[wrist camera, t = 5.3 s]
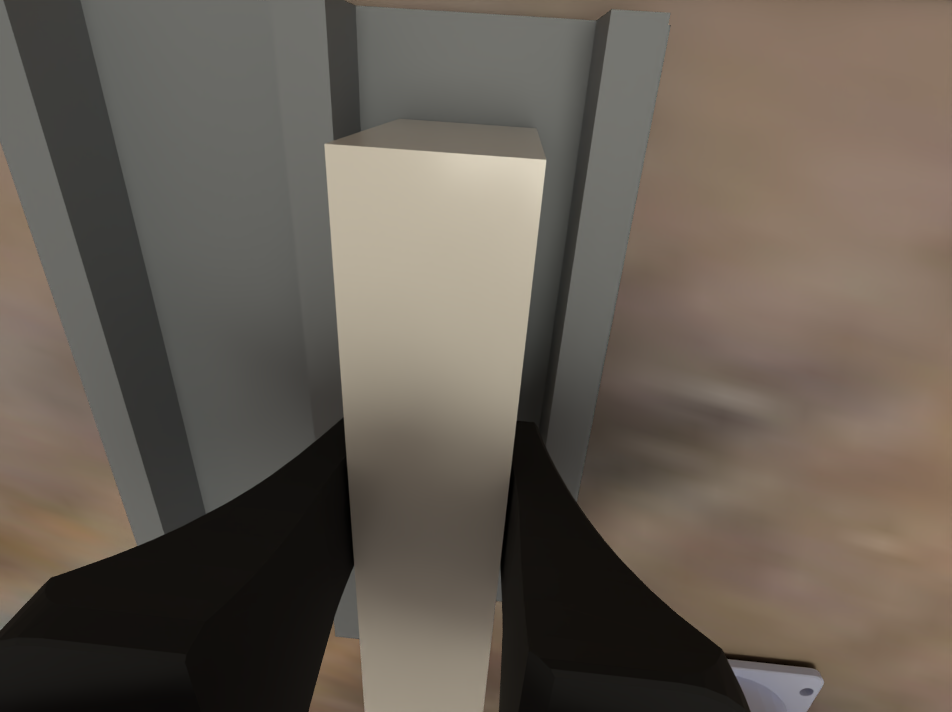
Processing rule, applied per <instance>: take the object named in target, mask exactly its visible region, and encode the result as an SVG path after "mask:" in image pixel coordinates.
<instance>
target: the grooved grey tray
mask: <svg viewBox="0 0 952 712" xmlns="http://www.w3.org/2000/svg"><path fill="white" fill-rule="evenodd" d="M669 18H670V13H663V12H647V11H630V10H614V9H611V10H610V11H609V12H607V13H606V14H605V15H603V16H602V17H601V18H599V19H598V20H597V21H595V20H579V19H562V18H546V17H530V16H514V15H498V14H482V13H466V12H450V11H433V10H417V9H401V8H385V7H369V6H355V5H353V4H351V3H348V2H346V1H344V0H0V142H1V145H2V148H3V151H4V154H5V157H6V160H7V163H8V166H9V169H10V172H11V175H12V178H13V181H14V184H15V187H16V190H17V193H18V195H19V198H20V201H21V204H22V207H23V210H24V213H25V216H26V219H27V222H28V225H29V228H30V231H31V234H32V237H33V240H34V243H35V246H36V248H37V251H38V254H39V257H40V260H41V263H42V266H43V269H44V272H45V275H46V278H47V281H48V284H49V287H50V290H51V293H52V296H53V299H54V302H55V304H56V307H57V310H58V313H59V316H60V319H61V322H62V325H63V328H64V331H65V334H66V337H67V340H68V343H69V346H70V349H71V352H72V355H73V357H74V360H75V363H76V366H77V369H78V372H79V375H80V378H81V381H82V384H83V387H84V390H85V393H86V396H87V399H88V402H89V405H90V408H91V411H92V413H93V416H94V419H95V422H96V425H97V428H98V431H99V434H100V437H101V440H102V443H103V446H104V449H105V452H106V455H107V458H108V461H109V464H110V466H111V469H112V472H113V475H114V478H115V481H116V484H117V487H118V490H119V493H120V496H121V499H122V502H123V505H124V508H125V511H126V514H127V517H128V520H129V522H130V525H131V528H132V531H133V534H134V537H135V540H136V543H137V546H139V545H141V544H144V543H146V542H148V541H151V540H153V539H155V538H158V537H160V536H162V535H164V534H167V533H169V532H171V531H173V530H175V529H177V528H180V527H182V526H184V525H186V524H188V523H189V522H191V521H193V520H195V519H197V518H199V517H201V516H203V515H205V514H207V513H209V512H211V511H213V510H215V509H216V508H218V507H220V506H222V505H224V504H226V503H228V502H229V501H231V500H233V499H234V498H236V497H238V496H239V495H241V494H243V493H244V492H246V491H248V490H249V489H251V488H252V487H254V486H256V485H257V484H259V483H260V482H262V481H263V480H265V479H266V478H268V477H269V476H271V475H272V474H273V473H275V472H276V471H277V470H279V469H280V468H281V467H283V466H284V465H285V464H287V463H288V462H290V461H291V460H292V459H294V458H295V457H296V456H298V455H299V454H300V453H301V452H302V451H304V450H305V449H306V448H307V447H309V446H310V445H311V444H312V443H314V442H315V441H316V440H317V439H318V438H320V437H321V436H322V435H323V434H324V433H325V432H327V431H328V430H329V429H330V428H331V427H332V426H334V425H335V424H336V423H337V422H338V421H339V420H341V419H342V418H343V417H344V414H343V399H342V385H341V371H340V357H339V343H338V329H337V315H336V301H335V287H334V273H333V259H332V245H331V231H330V217H329V203H328V189H327V175H326V161H325V147H324V144H325V143H328V142H331V141H334V140H337V139H340V138H343V137H346V136H349V135H352V134H355V133H358V132H361V131H364V130H367V129H370V128H373V127H376V126H379V125H382V124H385V123H388V122H391V121H394V120H397V119H411V120H425V121H439V122H453V123H468V124H482V125H496V126H510V127H525V128H537V131H538V135H539V138H540V141H541V144H542V147H543V150H544V154H545V157H546V168H545V177H544V186H543V194H542V203H541V212H540V220H539V229H538V238H537V247H536V255H535V264H534V273H533V281H532V290H531V299H530V307H529V316H528V325H527V334H526V342H525V351H524V360H523V368H522V377H521V386H520V395H519V403H518V412H517V421H526V422H534V423H535V424H536V425H537V426H538V428H539V431H540V434H541V437H542V439H543V442H544V444H545V446H546V449H547V451H548V453H549V455H550V457H551V459H552V461H553V463H554V465H555V467H556V469H557V470H558V472H559V474H560V476H561V478H562V479H563V481H564V483H565V485H566V486H567V488H568V490H569V491H570V493H571V495H572V496H573V498H574V499H575V501H576V502H577V498H578V493H579V488H580V483H581V478H582V473H583V468H584V462H585V457H586V452H587V447H588V442H589V437H590V432H591V427H592V422H593V417H594V412H595V407H596V402H597V396H598V391H599V386H600V381H601V376H602V371H603V366H604V361H605V356H606V351H607V346H608V341H609V336H610V330H611V325H612V320H613V315H614V310H615V305H616V300H617V295H618V290H619V285H620V280H621V275H622V270H623V265H624V259H625V254H626V249H627V244H628V239H629V234H630V229H631V224H632V219H633V214H634V209H635V204H636V199H637V193H638V188H639V183H640V178H641V173H642V168H643V163H644V158H645V153H646V148H647V143H648V138H649V133H650V127H651V122H652V117H653V112H654V107H655V102H656V97H657V92H658V87H659V82H660V77H661V72H662V67H663V62H664V56H665V51H666V46H667V41H668V36H669V31H670V26H671V25H668V23H669ZM496 601H502V592H501V570H500V569H499V577H498V586H497V595H496ZM334 625H335V635H336V636H337V637H346V638H355V639H360V638H359V624H358V610H357V596H356V582H355V568H354V567H353V569H352V572H351V574H350V577H349V579H348V582H347V584H346V587H345V589H344V592H343V594H342V597H341V600H340V603H339V605H338V608H337V611H336V614H335V617H334Z"/></svg>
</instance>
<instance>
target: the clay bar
mask: <svg viewBox="0 0 952 712" xmlns="http://www.w3.org/2000/svg"><path fill="white" fill-rule="evenodd" d="M324 147H325V161H326V175H327V189H328V203H329V217H330V231H331V245H332V259H333V273H334V287H335V301H336V315H337V329H338V343H339V357H340V371H341V385H342V399H343V414H344V428H345V442H346V456H347V470H348V484H349V498H350V512H351V526H352V540H353V554H354V568H355V582H356V596H357V610H358V624H359V638H360V652H361V667H362V681H363V695H364V709H365V712H483V708H484V699H485V691H486V682H487V673H488V664H489V656H490V647H491V638H492V630H493V621H494V612H495V603H496V595H497V586H498V577H499V569H500V560H501V551H502V543H503V534H504V525H505V516H506V508H507V499H508V490H509V482H510V473H511V464H512V455H513V447H514V438H515V429H516V421H517V412H518V403H519V395H520V386H521V377H522V368H523V360H524V351H525V342H526V334H527V325H528V316H529V307H530V299H531V290H532V281H533V273H534V264H535V255H536V247H537V238H538V229H539V220H540V212H541V203H542V194H543V186H544V177H545V168H546V157H545V154H544V150H543V147H542V144H541V141H540V138H539V135H538V131H537V128H525V127H510V126H496V125H482V124H468V123H453V122H439V121H425V120H411V119H397V120H394V121H391V122H388V123H385V124H382V125H379V126H376V127H373V128H370V129H367V130H364V131H361V132H358V133H355V134H352V135H349V136H346V137H343V138H340V139H337V140H334V141H331V142H328V143H325V144H324Z"/></svg>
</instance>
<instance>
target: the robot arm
mask: <svg viewBox="0 0 952 712" xmlns="http://www.w3.org/2000/svg"><path fill="white" fill-rule="evenodd" d="M353 567H354V554H353V540H352V526H351V512H350V498H349V484H348V470H347V456H346V442H345V428H344V417H343V418H342V419H341V420H339V421H338V422H337V423H336V424H335V425H334V426H332V427H331V428H330V429H329V430H328V431H327V432H325V433H324V434H323V435H322V436H321V437H320V438H318V439H317V440H316V441H315V442H314V443H312V444H311V445H310V446H309V447H307V448H306V449H305V450H304V451H302V452H301V453H300V454H299V455H298V456H296V457H295V458H294V459H292V460H291V461H290V462H288V463H287V464H285V465H284V466H283V467H281V468H280V469H279V470H277V471H276V472H275V473H273V474H272V475H271V476H269V477H268V478H266V479H265V480H263V481H262V482H260V483H259V484H257V485H256V486H254V487H252V488H251V489H249V490H248V491H246V492H244V493H243V494H241V495H239V496H238V497H236V498H234V499H233V500H231V501H229V502H228V503H226V504H224V505H222V506H220V507H218V508H216V509H215V510H213V511H211V512H209V513H207V514H205V515H203V516H201V517H199V518H197V519H195V520H193V521H191V522H189V523H188V524H186V525H184V526H182V527H180V528H177V529H175V530H173V531H171V532H169V533H167V534H164V535H162V536H160V537H158V538H155V539H153V540H151V541H148V542H146V543H144V544H141V545H139V546H137V547H134V548H132V549H129V550H127V551H124V552H122V553H119V554H117V555H114V556H111V557H109V558H106V559H103V560H100V561H97V562H95V563H92V564H89V565H86V566H83V567H81V568H78V569H75V570H72V571H69V572H67V573H64V574H61V575H58V576H55V577H51V578H50V579H49V580H48V581H47V582H46V583H45V584H44V585H43V586H42V587H41V588H40V589H39V590H38V591H37V592H36V593H35V594H34V596H33V597H32V598H31V599H30V600H29V601H28V602H27V603H26V604H25V605H24V606H23V607H22V608H21V609H20V610H19V611H18V612H17V614H16V615H15V616H14V617H13V618H12V619H11V620H10V621H9V622H8V623H7V624H6V625H5V626H4V627H3V628H2V629H1V630H0V712H308V711H309V707H310V703H311V700H312V696H313V692H314V688H315V685H316V681H317V677H318V674H319V670H320V666H321V663H322V659H323V655H324V652H325V648H326V645H327V642H328V638H329V635H330V631H331V628H332V624H333V621H334V617H335V614H336V611H337V608H338V605H339V603H340V600H341V597H342V594H343V592H344V589H345V587H346V584H347V582H348V579H349V577H350V574H351V572H352V569H353ZM500 570H501V592H502V613H503V638H502V660H501V682H500V703H499V712H807V710H808V709H809V707H810V706H811V704H812V702H813V701H814V699H815V698H816V696H817V694H818V693H819V691H820V689H821V688H822V686H823V684H824V681H823V679H822V677H821V675H820V673H819V671H817V670H816V669H813V668H807V667H798V666H788V665H779V664H770V663H760V662H751V661H742V660H732V659H727V658H726V656H725V654H724V652H723V650H722V649H721V648H720V647H719V646H717V645H716V644H715V643H713V642H712V641H711V640H710V639H708V638H707V637H706V636H705V635H703V634H702V633H701V632H699V631H698V630H697V629H696V628H694V627H693V626H692V625H691V624H689V623H688V622H687V621H686V620H684V619H683V618H682V617H680V616H679V615H678V614H677V613H676V612H674V611H673V610H672V609H671V608H670V607H669V606H668V605H667V604H665V603H664V602H663V601H662V600H661V599H660V598H659V597H658V596H657V595H655V594H654V593H653V592H652V591H651V590H650V589H649V588H648V587H647V586H646V585H645V584H644V583H643V582H642V581H641V580H640V579H639V578H638V577H637V576H636V575H635V574H634V573H633V572H632V571H631V570H630V569H629V568H628V567H627V566H626V565H625V564H624V563H623V562H622V561H621V559H620V558H619V557H618V556H617V555H616V554H615V552H614V551H613V550H612V549H611V548H610V547H609V545H608V544H607V543H606V542H605V541H604V539H603V538H602V537H601V536H600V534H599V533H598V532H597V530H596V529H595V528H594V527H593V525H592V524H591V523H590V521H589V520H588V518H587V517H586V516H585V514H584V513H583V511H582V510H581V508H580V507H579V505H578V504H577V502H576V501H575V499H574V498H573V496H572V495H571V493H570V491H569V490H568V488H567V486H566V485H565V483H564V481H563V479H562V478H561V476H560V474H559V472H558V470H557V469H556V467H555V465H554V463H553V461H552V459H551V457H550V455H549V453H548V451H547V449H546V446H545V444H544V442H543V439H542V437H541V434H540V431H539V428H538V426H537V425H536V424H535V423H534V422H526V421H516V429H515V438H514V447H513V455H512V464H511V473H510V482H509V490H508V499H507V508H506V516H505V525H504V534H503V543H502V551H501V560H500Z"/></svg>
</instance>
